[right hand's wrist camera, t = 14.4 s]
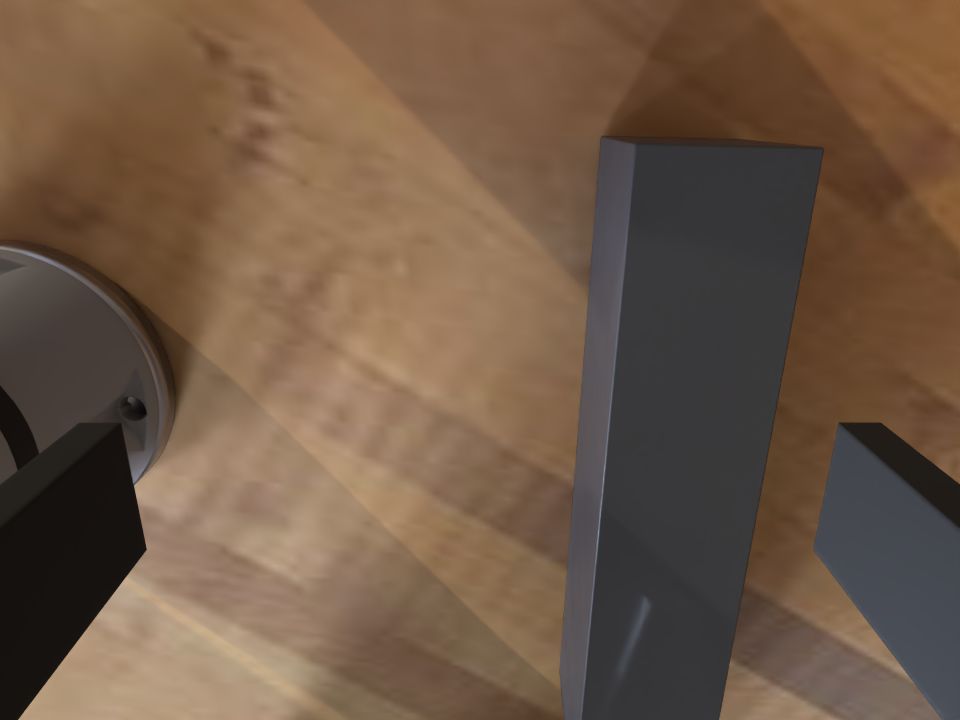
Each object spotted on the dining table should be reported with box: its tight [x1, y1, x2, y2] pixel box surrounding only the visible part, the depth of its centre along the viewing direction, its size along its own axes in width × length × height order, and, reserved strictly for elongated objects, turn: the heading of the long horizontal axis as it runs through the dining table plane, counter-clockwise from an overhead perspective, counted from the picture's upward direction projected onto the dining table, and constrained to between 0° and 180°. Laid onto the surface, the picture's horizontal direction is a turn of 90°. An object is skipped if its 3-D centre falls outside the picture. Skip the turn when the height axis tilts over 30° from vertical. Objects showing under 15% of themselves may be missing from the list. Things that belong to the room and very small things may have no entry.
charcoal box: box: [559, 136, 824, 720], centre depth 33 cm, size 32×6×9 cm, turn 179°
